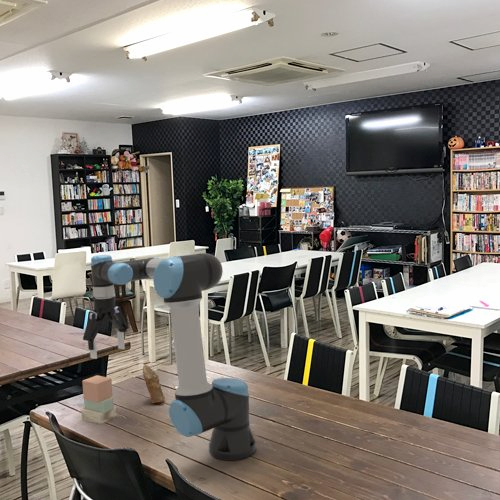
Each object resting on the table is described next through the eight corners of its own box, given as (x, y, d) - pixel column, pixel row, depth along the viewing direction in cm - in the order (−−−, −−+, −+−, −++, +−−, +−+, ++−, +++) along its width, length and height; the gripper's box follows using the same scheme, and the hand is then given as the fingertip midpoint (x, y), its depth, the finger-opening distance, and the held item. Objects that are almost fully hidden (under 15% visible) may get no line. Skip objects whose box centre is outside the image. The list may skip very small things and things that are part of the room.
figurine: (163, 405, 227) (161, 368, 225) (142, 405, 227) (140, 368, 225) (166, 397, 235) (165, 361, 233) (147, 397, 235) (145, 362, 233)
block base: (98, 412, 223) (97, 402, 222) (116, 417, 217) (115, 407, 217) (81, 419, 216) (81, 409, 215) (100, 425, 210) (99, 414, 210)
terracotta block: (98, 392, 221) (96, 375, 220) (112, 396, 217) (111, 378, 216) (83, 398, 215) (82, 380, 215) (98, 402, 211) (96, 384, 210)
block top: (94, 403, 221) (93, 393, 220) (113, 408, 216) (113, 398, 215) (84, 408, 216) (83, 398, 216) (104, 413, 211) (103, 402, 211)
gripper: (121, 290, 224) (125, 343, 226) (69, 302, 204) (74, 361, 206) (135, 291, 220) (139, 346, 222) (84, 304, 199) (88, 363, 202)
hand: (108, 353), depth 214 cm, fingers open, 13 cm apart
